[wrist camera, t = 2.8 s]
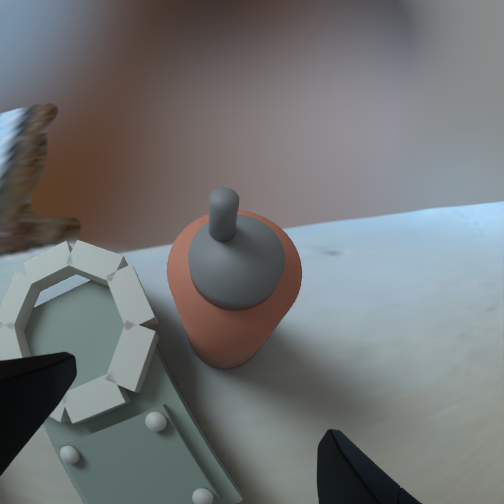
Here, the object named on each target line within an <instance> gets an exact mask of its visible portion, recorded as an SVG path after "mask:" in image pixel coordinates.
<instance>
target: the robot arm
mask: <svg viewBox="0 0 504 504" xmlns="http://www.w3.org/2000/svg"><path fill="white" fill-rule="evenodd" d="M76 376H77V366H76V358H75V356H74V355H73V354H71V353H68V352H58V353H52V354H45V355H38V356H32V357H24V358H17V359H9V360H1V361H0V475H2V474H3V472H4V471H5V470H6V468H7V467H8V466H9V465H10V463H11V462H12V461H13V460H14V458H15V457H16V456H17V455H18V453H19V452H20V451H21V450H22V448H23V447H24V446H25V445H26V443H27V442H28V441H29V440H30V438H31V437H32V436H33V435H34V434H35V432H36V431H37V430H38V429H39V428H40V426H41V425H42V424H43V423H44V422H45V420H46V419H47V418H48V417H49V416H50V414H51V413H52V412H53V411H54V410H55V408H56V407H57V406H58V405H59V403H60V402H61V400H62V399H63V397H64V396H65V394H66V393H67V391H68V389H69V388H70V386H71V385H72V383H73V382H74V380H75V379H76ZM317 489H318V498H319V504H422V503H420V502H419V501H418V500H416V499H415V498H414V497H413V496H411V495H410V494H409V493H408V492H407V491H406V490H404V489H403V488H400V486H399V485H398V484H397V483H396V482H395V481H394V480H393V479H391V478H390V477H389V476H388V475H387V474H386V473H385V472H384V471H383V470H381V469H380V468H379V467H378V466H377V465H376V464H375V463H374V462H373V461H372V460H371V459H370V458H368V457H367V456H366V455H365V454H364V453H363V452H362V451H361V450H360V449H359V448H358V447H357V446H356V445H355V444H354V443H352V442H351V441H350V440H349V439H348V438H347V437H346V436H345V435H344V434H343V433H342V432H341V431H340V430H335V429H329V430H327V432H326V433H325V435H324V436H323V438H322V439H321V441H320V443H319V445H318V453H317Z"/></svg>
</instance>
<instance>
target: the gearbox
mask: <svg viewBox="0 0 504 504" xmlns="http://www.w3.org/2000/svg"><path fill="white" fill-rule="evenodd" d="M24 268H25V273H26V276H25V275H23V274H21V273H19V272H17V271H16V272H15V274H14V276H13V278H12V280H11V283H10V285H9V287H8V289H7V292H6V294H5V296H4V298H3V301H2V303H1V305H0V322H1V323H2V324H4V326H2V327H0V359H1V360H9V359H17V358H24V357H32V356H38V355H45V354H52V353H58V352H68V353H71V354H73V355H74V356H75V358H76V366H77V376H76V379H75V380H74V382H73V383H72V385H71V386H70V388H69V389H68V391H67V393H66V394H65V396H64V397H63V399H62V400H61V402H60V403H59V405H58V406H57V407H56V408H55V410H54V411H53V412H52V413H51V414H50V416H49V417H48V418H47V419H46V420H45V422H44V426H45V428H46V431H47V433H48V435H49V437H50V440H51V442H52V444H53V446H54V448H55V450H56V453H57V455H58V457H59V459H60V461H61V463H62V465H63V467H64V469H65V471H66V472H67V474H68V476H69V478H70V480H71V482H72V483H73V485H74V487H75V489H76V491H77V492H78V494H79V496H80V497H81V499H82V501H83V502H84V504H237V503H239V502H241V501H243V498H242V495H241V491H240V489H239V487H238V486H237V484H236V483H235V481H234V480H233V478H232V477H231V475H230V474H229V472H228V471H227V469H226V468H225V466H224V465H223V463H222V462H221V460H220V459H219V457H218V456H217V454H216V452H215V451H214V449H213V448H212V446H211V444H210V443H209V441H208V439H207V438H206V436H205V434H204V433H203V431H202V429H201V428H200V426H199V424H198V423H197V421H196V419H195V417H194V416H193V414H192V412H191V410H190V409H189V407H188V405H187V403H186V401H185V400H184V398H183V396H182V394H181V392H180V390H179V389H178V387H177V385H176V383H175V381H174V379H173V377H172V375H171V373H170V371H169V369H168V367H167V365H166V363H165V361H164V359H163V357H162V355H161V353H160V351H159V349H158V347H157V342H158V339H159V335H158V334H157V332H156V331H154V330H151V329H149V327H151V326H154V325H156V324H158V320H157V318H156V316H155V314H154V312H153V310H152V307H151V305H150V303H149V301H148V299H147V296H146V294H145V292H144V289H143V287H142V285H141V282H140V280H139V278H138V275H137V273H136V271H135V269H134V267H133V265H132V264H131V265H128V264H127V262H126V260H125V258H124V256H122V255H119V254H116V253H113V252H111V251H107V250H105V249H102V248H99V247H96V246H93V245H90V244H88V243H85V242H82V241H79V240H77V242H76V243H75V245H74V247H73V249H72V247H71V246H70V245H69V243H68V242H67V241H65V242H63V243H61V244H59V245H57V246H55V247H53V248H51V249H49V250H47V251H45V252H43V253H41V254H39V255H38V256H36V257H34V258H32V259H30V260H28V261H26V262H24ZM75 274H78V275H80V276H83V277H85V278H88V279H90V281H88V282H86V283H84V284H82V285H80V286H78V287H76V288H74V289H72V290H69V291H67V292H65V293H63V294H61V295H59V296H57V297H55V298H53V299H51V300H49V301H47V302H45V303H43V304H41V305H39V306H37V307H35V308H34V305H35V303H36V301H37V298H38V296H39V294H40V292H41V291H43V290H45V289H47V288H49V287H51V286H53V285H55V284H57V283H59V282H61V281H63V280H65V279H67V278H69V277H71V276H73V275H75Z"/></svg>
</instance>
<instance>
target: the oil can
mask: <svg viewBox="0 0 504 504" xmlns="http://www.w3.org/2000/svg"><path fill="white" fill-rule="evenodd" d="M238 206H239V196H238V194H237V193H236V192H235V191H234V190H232V189H230V188H225V187H223V188H218V189H215V190H214V191H213V192H212V193H211V194H210V196H209V214H208V215H205V216H203V217H201V218H199V219H197V220H196V221H194V222H193V223H191V224H190V225H189V226H188V227H186V228H185V229H184V230H183V231H182V232H181V234H180V235H179V236H178V238H177V239H176V241H175V242H174V244H173V246H172V248H171V251H170V254H169V258H168V263H167V276H168V282H169V287H170V290H171V293H172V296H173V298H174V301H175V304H176V307H177V310H178V312H179V315H180V318H181V321H182V323H183V326H184V329H185V331H186V334H187V337H188V339H189V342H190V344H191V347H192V349H193V351H194V352H195V354H196V355H197V356H198V357H199V358H200V359H201V360H202V361H203V362H205V363H206V364H208V365H210V366H213V367H216V368H222V369H229V368H235V367H238V366H240V365H243V364H244V363H246V362H247V361H248V360H250V359H251V358H252V357H253V356H254V354H255V353H256V352H257V351H258V349H259V348H260V347H261V346H262V344H263V343H264V342H265V340H266V339H267V338H268V337H269V335H270V334H271V333H272V332H273V330H274V329H275V328H276V326H277V325H278V324H279V323H280V321H281V320H282V319H283V317H284V316H285V315H286V313H287V312H288V311H289V309H290V308H291V307H292V305H293V303H294V302H295V300H296V298H297V296H298V293H299V290H300V287H301V280H302V267H301V261H300V258H299V254H298V252H297V250H296V247H295V246H294V244H293V242H292V240H291V239H290V238H289V237H288V235H287V234H286V233H285V232H284V231H283V230H282V229H281V228H280V227H279V226H277V225H276V224H275V223H273V222H272V221H270V220H268V219H267V218H264V217H262V216H260V215H257V214H254V213H251V212H246V211H239V210H238Z"/></svg>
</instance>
